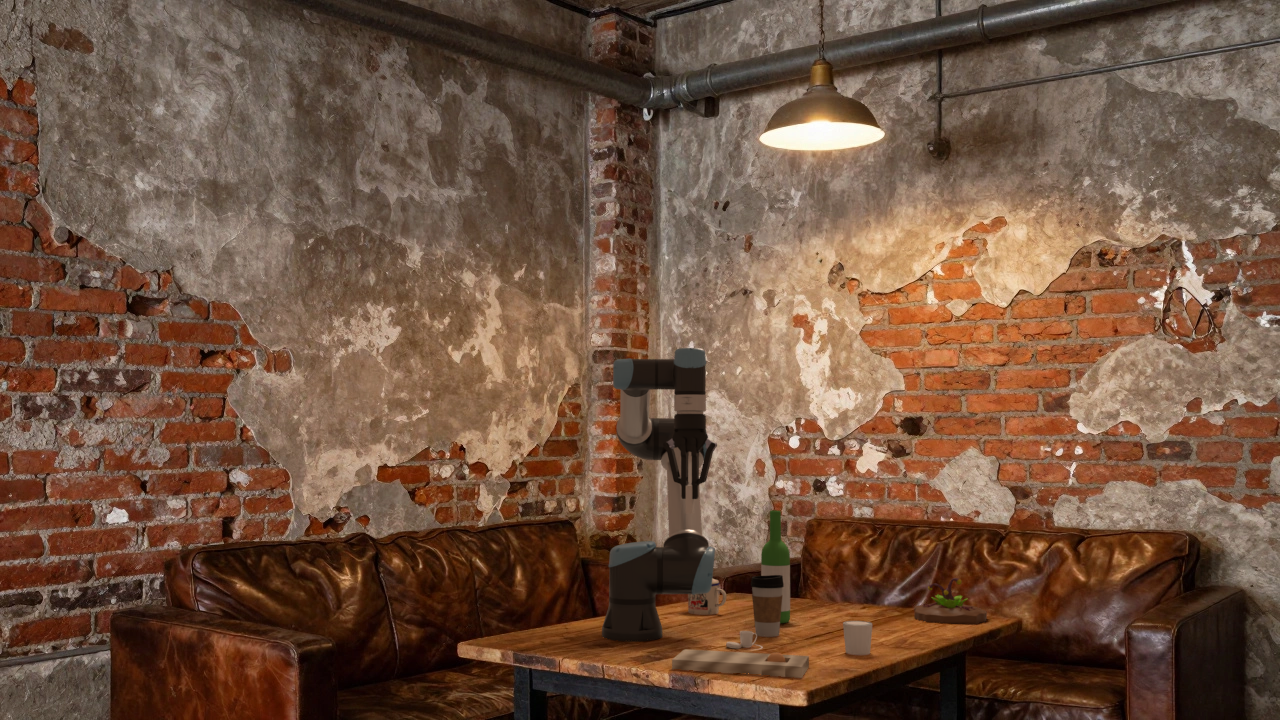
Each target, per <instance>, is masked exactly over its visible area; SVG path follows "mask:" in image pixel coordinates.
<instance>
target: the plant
mask: <svg viewBox="0 0 1280 720" xmlns="http://www.w3.org/2000/svg"><path fill="white" fill-rule="evenodd" d="M953 582H956V585H962V579H960V578H957V577H954V578H951V579H950V581H949V583H948V585H947V587H946V589H945V588H944V587H943V586H942V585H940V584H939V583H935V582H934V583H931V584H929V585H928V586H927V590H928V591H932V590H933V586H936V587H938V588H939V589H940V590H941V593H942V595H941V594H939V593H938V594H937V595H934V596H935V597H933V596H931V599H932V600H933V601H934V602H933V603H929V604H928V603H923V604H920V605H919V604H918V605H915V606H914V619H915V618H916V619H915V620H917V619H918V620H917V621H920V620H923V621H922V622H924V621H926V622H925V623H936V622H940V623H939V624H943V623H951V624H950V625H961V624H962V625H978V624H980V623H986V622H987V617H988V616H987V615H988V614H987V610H984V609H982V608H981V607H978V606H974V605H968V604H964V603H965V602H966V601H967V600H968V599H969V598H964V599H962V598H963V595H961V594H959V595H956V596H954V595H952V593H953V591H952V584H953ZM955 623H956V624H955Z"/></svg>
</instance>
